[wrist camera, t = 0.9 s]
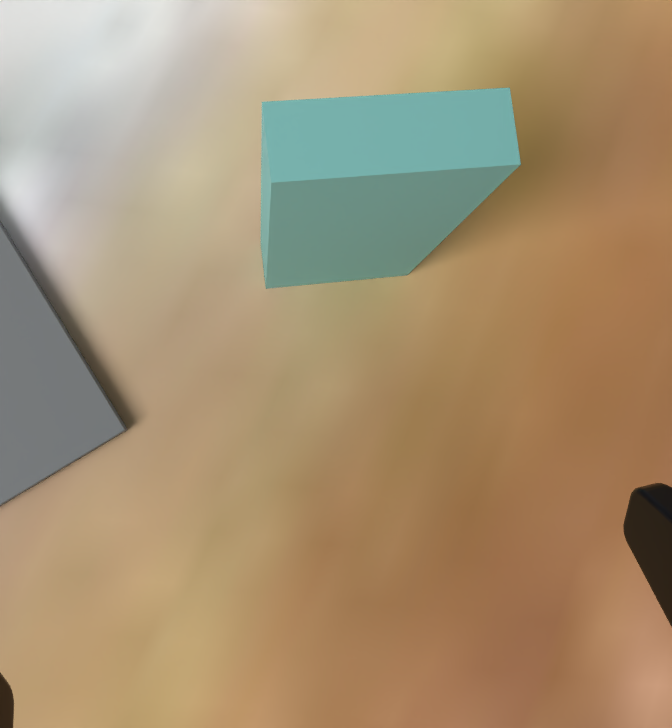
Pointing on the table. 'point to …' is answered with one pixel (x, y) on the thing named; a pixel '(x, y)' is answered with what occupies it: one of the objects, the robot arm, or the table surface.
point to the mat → (42, 385)
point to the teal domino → (376, 179)
